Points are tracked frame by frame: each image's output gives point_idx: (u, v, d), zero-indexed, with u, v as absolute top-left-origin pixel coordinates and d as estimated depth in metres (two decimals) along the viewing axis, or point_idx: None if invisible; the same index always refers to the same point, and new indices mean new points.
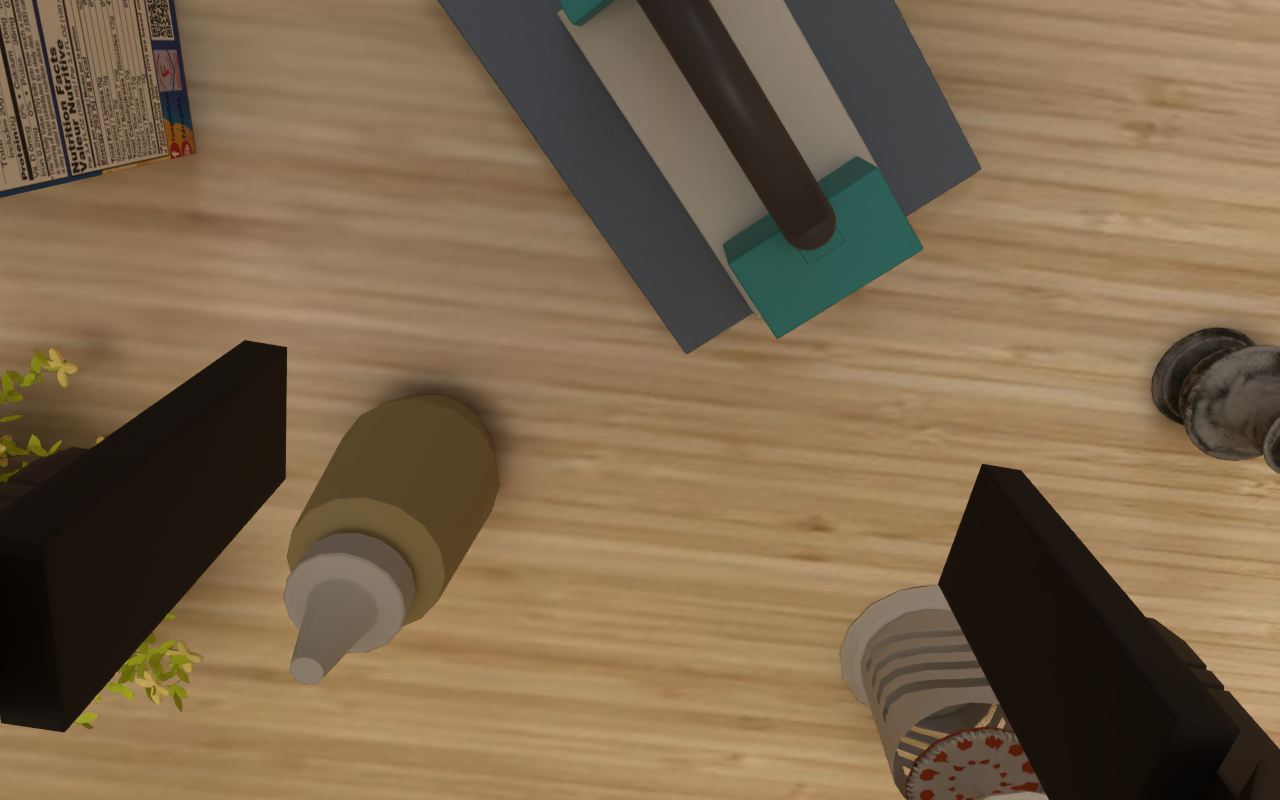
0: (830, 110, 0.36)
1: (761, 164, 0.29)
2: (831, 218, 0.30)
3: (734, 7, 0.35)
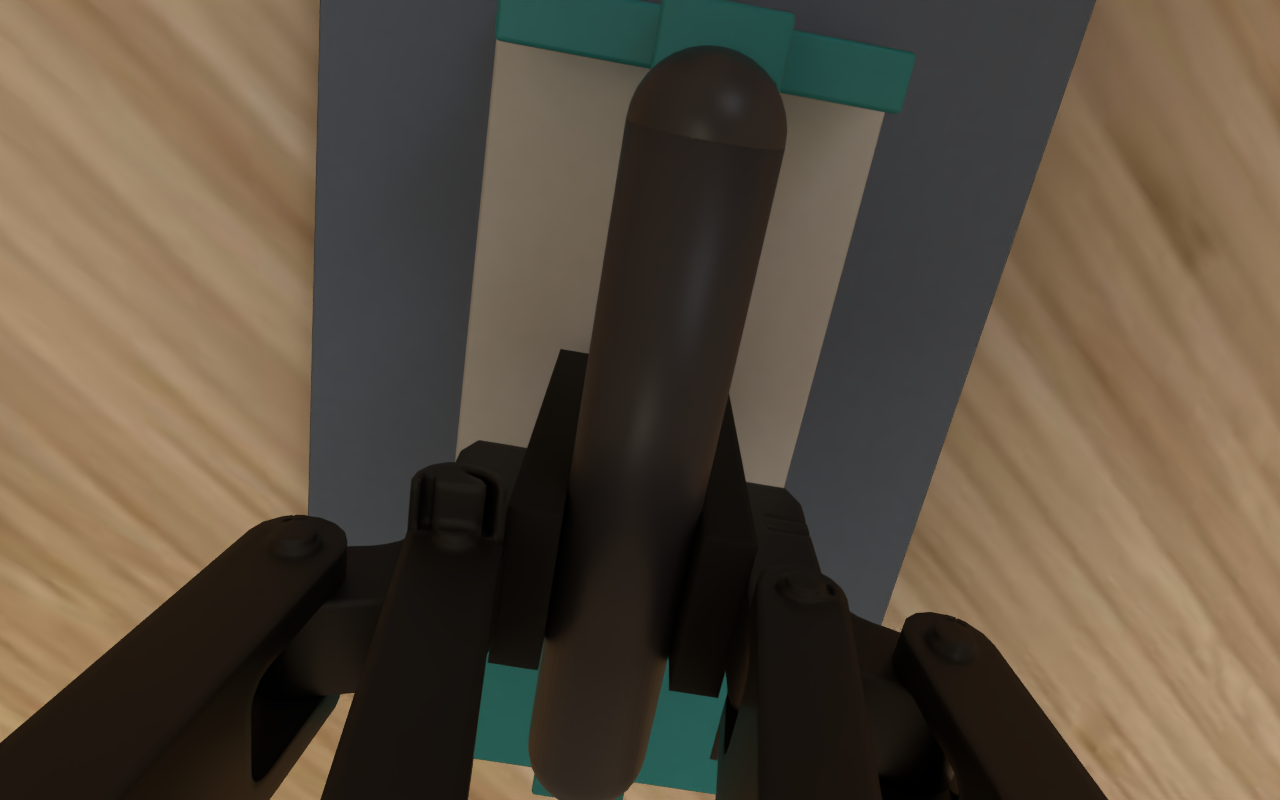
0: (763, 479, 0.21)
1: (587, 636, 0.12)
2: (627, 785, 0.14)
3: (766, 237, 0.18)
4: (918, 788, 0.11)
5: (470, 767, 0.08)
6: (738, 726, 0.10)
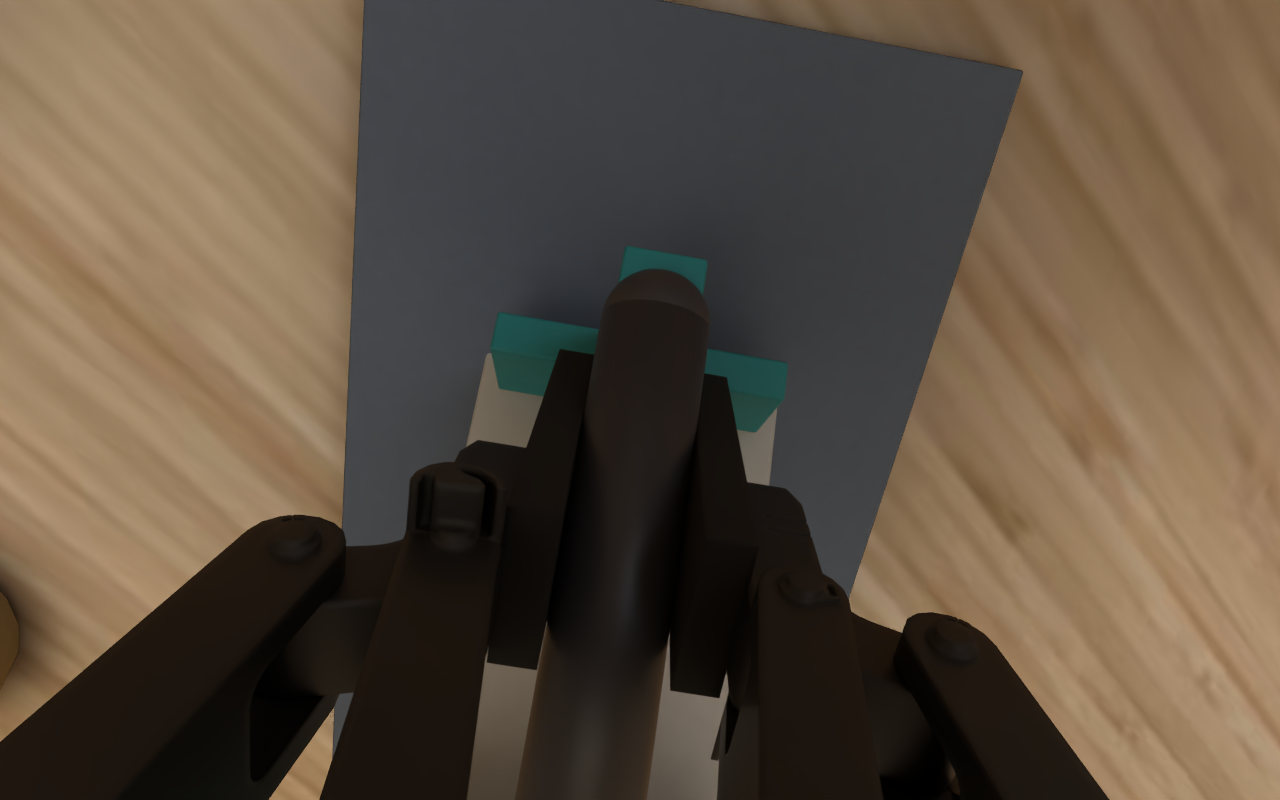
0: (715, 785, 0.20)
1: (569, 738, 0.12)
2: None
3: None
4: (919, 789, 0.11)
5: (469, 767, 0.08)
6: (739, 726, 0.10)
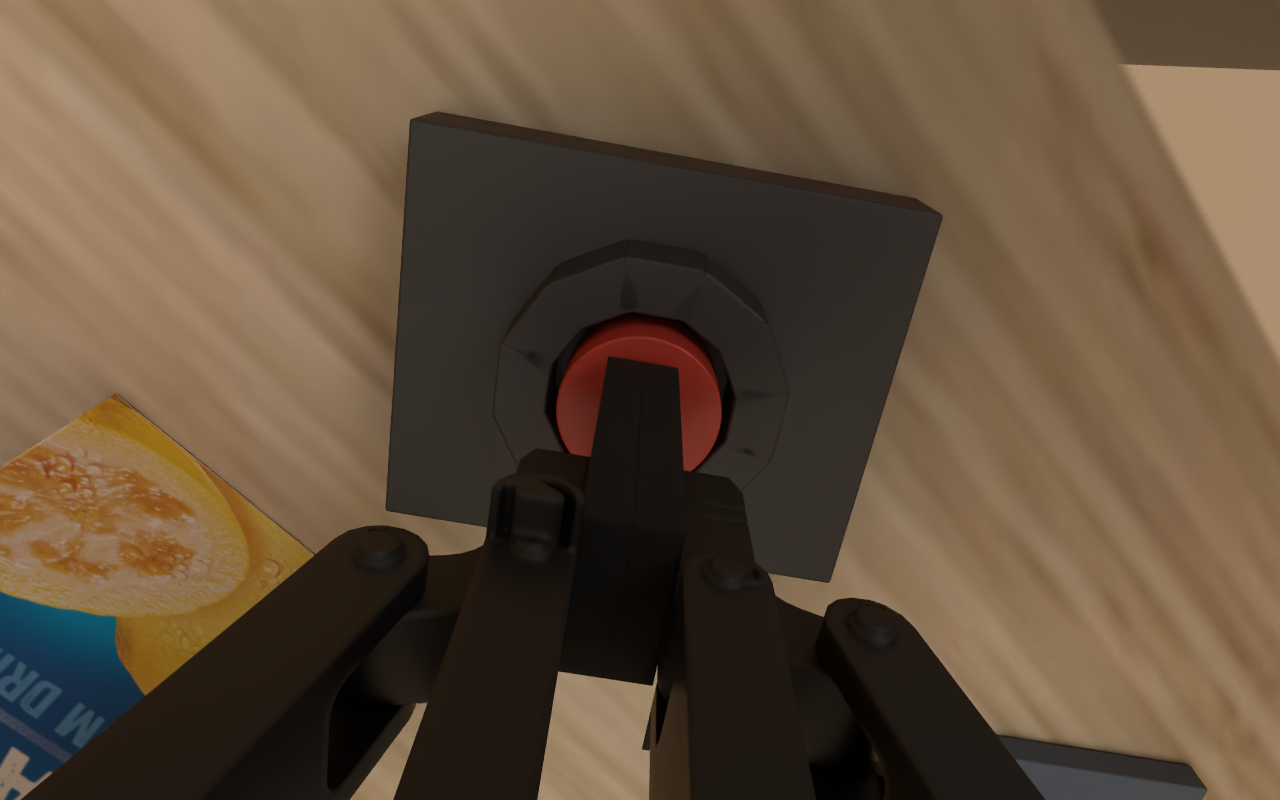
0: None
1: None
2: None
3: None
4: (845, 773, 0.11)
5: (539, 779, 0.08)
6: (668, 716, 0.10)
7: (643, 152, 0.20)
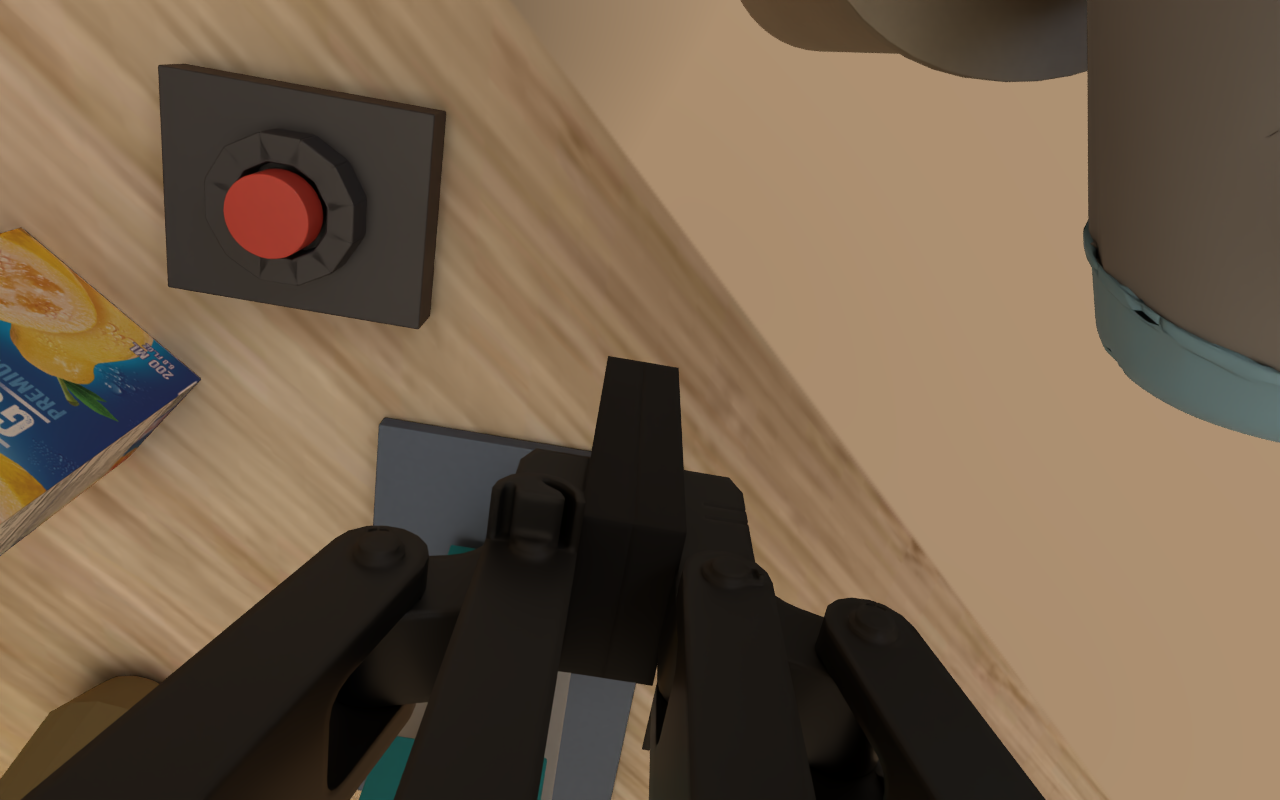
0: (545, 759, 0.40)
1: None
2: None
3: None
4: (845, 773, 0.11)
5: (539, 780, 0.08)
6: (668, 716, 0.10)
7: (290, 84, 0.38)
